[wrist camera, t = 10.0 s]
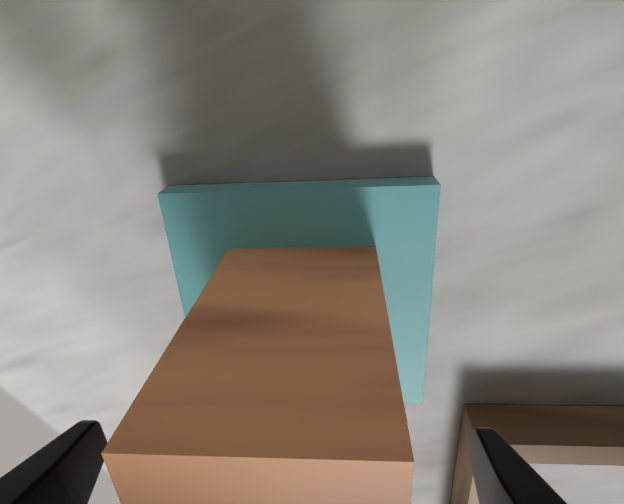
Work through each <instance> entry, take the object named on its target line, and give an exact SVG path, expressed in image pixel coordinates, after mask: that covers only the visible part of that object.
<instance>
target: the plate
mask: <svg viewBox="0 0 624 504" xmlns="http://www.w3.org/2000/svg"><path fill="white" fill-rule="evenodd" d="M439 196H440V184H439V182H438V181H437V180H436V179H435V177H434V176H432V177H403V178H374V179H344V180H315V181H286V182H256V183H227V184H198V185H170V186H168V187H167V188H165V189H164V190H162V191H161V192H160V193H158V197H159V202H160V206H161V211H162V215H163V220H164V224H165V229H166V233H167V238H168V242H169V247H170V251H171V256H172V260H173V265H174V269H175V274H176V278H177V283H178V287H179V292H180V296H181V301H182V305H183V310H184V314H185V318H186V316H187V314H188V313H189V311H190V310H191V308H192V306H193V305H194V303H195V302H196V300H197V298H198V297H199V295H200V294H201V292H202V290H203V289H204V287H205V285H206V284H207V282H208V281H209V279H210V277H211V276H212V274H213V273H214V271H215V269H216V268H217V266H218V265H219V263H220V261H221V260H222V258H223V256H224V255H225V253H226V252H227V250H228V249H238V248H295V247H353V246H376V250H377V256H378V261H379V267H380V273H381V278H382V284H383V290H384V295H385V301H386V306H387V312H388V318H389V323H390V329H391V335H392V340H393V346H394V352H395V357H396V363H397V369H398V374H399V380H400V385H401V391H402V397H403V402H404V404H422V401H423V389H424V377H425V365H426V353H427V340H428V328H429V316H430V304H431V292H432V280H433V268H434V256H435V244H436V232H437V220H438V208H439Z"/></svg>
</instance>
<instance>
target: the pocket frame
mask: <svg viewBox="0 0 624 504" xmlns="http://www.w3.org/2000/svg"><path fill="white" fill-rule="evenodd" d="M476 427H490V428H493V429H495V430H496V431H497V432H498V433H499V434H500V435H501V436H502V437H503V438H504V439H505V440H506V441H507V442H508V443H509V444H510V445H511V446H512V447H513V449H514V450H515V451H516V452H517V453H518V454H519V455H520V456H521V457H522V458H523V459H524V460H525V461H526V462H527V463H540V464H578V465H617V466H624V406H561V405H489V404H464V409H463V416H462V423H461V430H460V437H459V444H458V451H457V458H456V465H455V472H454V479H453V486H452V493H451V500H450V504H479V500H478V495H477V491H476V486H475V481H474V477H473V472H472V468H471V463H470V447H471V441H472V434H473V430H474V428H476Z"/></svg>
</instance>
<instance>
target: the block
mask: <svg viewBox="0 0 624 504" xmlns="http://www.w3.org/2000/svg"><path fill="white" fill-rule="evenodd" d="M101 454H102V457H103V459H104V462H105V464H106V467H107V469H108V472H109V474H110V477H111V480H112V482H113V485H114V487H115V490H116V492H117V495H118V497H119V500H120V503H121V504H411V494H412V481H413V469H414V459H413V453H412V447H411V442H410V436H409V431H408V425H407V419H406V414H405V408H404V402H403V397H402V391H401V385H400V380H399V374H398V369H397V363H396V357H395V352H394V346H393V340H392V335H391V329H390V323H389V318H388V312H387V306H386V301H385V295H384V290H383V284H382V278H381V273H380V267H379V261H378V256H377V250H376V246H353V247H295V248H238V249H228V250H227V252H226V253H225V255H224V256H223V258H222V260H221V261H220V263H219V265H218V266H217V268H216V269H215V271H214V273H213V274H212V276H211V277H210V279H209V281H208V282H207V284H206V285H205V287H204V289H203V290H202V292H201V294H200V295H199V297H198V298H197V300H196V302H195V303H194V305H193V306H192V308H191V310H190V311H189V313H188V314H187V316H186V318H185V319H184V321H183V323H182V324H181V326H180V327H179V329H178V331H177V332H176V334H175V335H174V337H173V339H172V340H171V342H170V343H169V345H168V347H167V348H166V350H165V352H164V353H163V355H162V356H161V358H160V360H159V361H158V363H157V364H156V366H155V368H154V369H153V371H152V372H151V374H150V376H149V377H148V379H147V380H146V382H145V384H144V385H143V387H142V389H141V390H140V392H139V393H138V395H137V397H136V398H135V400H134V401H133V403H132V405H131V406H130V408H129V409H128V411H127V413H126V414H125V416H124V418H123V419H122V421H121V422H120V424H119V426H118V427H117V429H116V430H115V432H114V434H113V435H112V437H111V438H110V440H109V442H108V443H107V445H106V447H105V448H104V450H103V451H102V453H101Z"/></svg>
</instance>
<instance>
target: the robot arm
mask: <svg viewBox="0 0 624 504" xmlns="http://www.w3.org/2000/svg"><path fill="white" fill-rule="evenodd" d="M106 445H107V440H106V438H105V435H104V432H103V430H102V427H101V424H100V423H99V422H98V421H95V420H83V421H80V422H78V423H76V424H75V425H74V426H72V427H71V428H69V429H68V430H67V431H65V432H64V433H62V434H61V435H60V436H58V437H57V438H56V439H54V440H53V441H51V442H50V443H49V444H47V445H46V446H44V447H43V448H42V449H40V450H39V451H37V452H36V453H35V454H33V455H32V456H30V457H29V458H28V459H26V460H25V461H23V462H22V463H21V464H19V465H18V466H16V467H15V468H14V469H12V470H11V471H10V472H8V473H7V474H5V475H4V476H2V477H1V478H0V504H88V501H89V498H90V496H91V493H92V491H93V488H94V486H95V483H96V480H97V478H98V475H99V472H100V470H101V467H102V465H103V462H104V459H103V457H102V454H101V453H102V451H103V450H104V448H105V447H106ZM470 463H471V468H472V472H473V477H474V481H475V486H476V491H477V495H478V500H479V504H567V503H566V502H565V501H564V500H563V499H562V498H561V497H560V496H559V495H558V494H557V493H556V492H555V491H554V490H553V489H552V488H551V487H550V486H549V485H548V484H547V483H546V482H545V481H544V479H543V478H542V477H541V476H540V475H539V474H538V473H537V472H536V471H535V470H534V469H533V468H532V467H531V466H530V465H529V464H528V463H527V462H526V461H525V460H524V459H523V458H522V457H521V456H520V455H519V454H518V453H517V452H516V451H515V450H514V449H513V447H512V446H511V445H510V444H509V443H508V442H507V441H506V440H505V439H504V438H503V437H502V436H501V435H500V434H499V433H498V432H497V431H496V430H495V429H493V428H490V427H476V428H474V430H473V434H472V441H471V447H470Z"/></svg>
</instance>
